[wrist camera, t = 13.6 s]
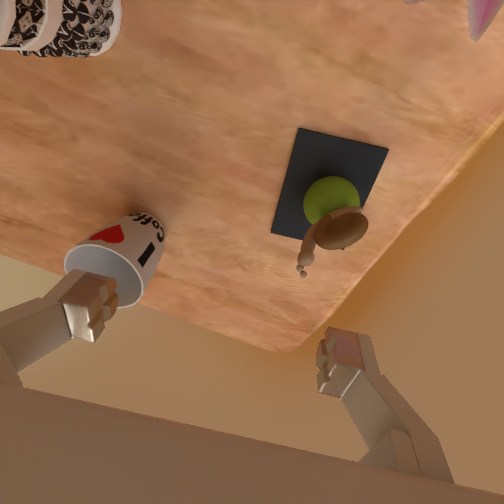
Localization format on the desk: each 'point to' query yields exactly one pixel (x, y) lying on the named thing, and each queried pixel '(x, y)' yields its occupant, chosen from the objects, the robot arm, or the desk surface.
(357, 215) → the snail figurine
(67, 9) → the black-white patterned cylinder
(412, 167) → the desk surface
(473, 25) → the lily
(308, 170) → the mat
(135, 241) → the cup
